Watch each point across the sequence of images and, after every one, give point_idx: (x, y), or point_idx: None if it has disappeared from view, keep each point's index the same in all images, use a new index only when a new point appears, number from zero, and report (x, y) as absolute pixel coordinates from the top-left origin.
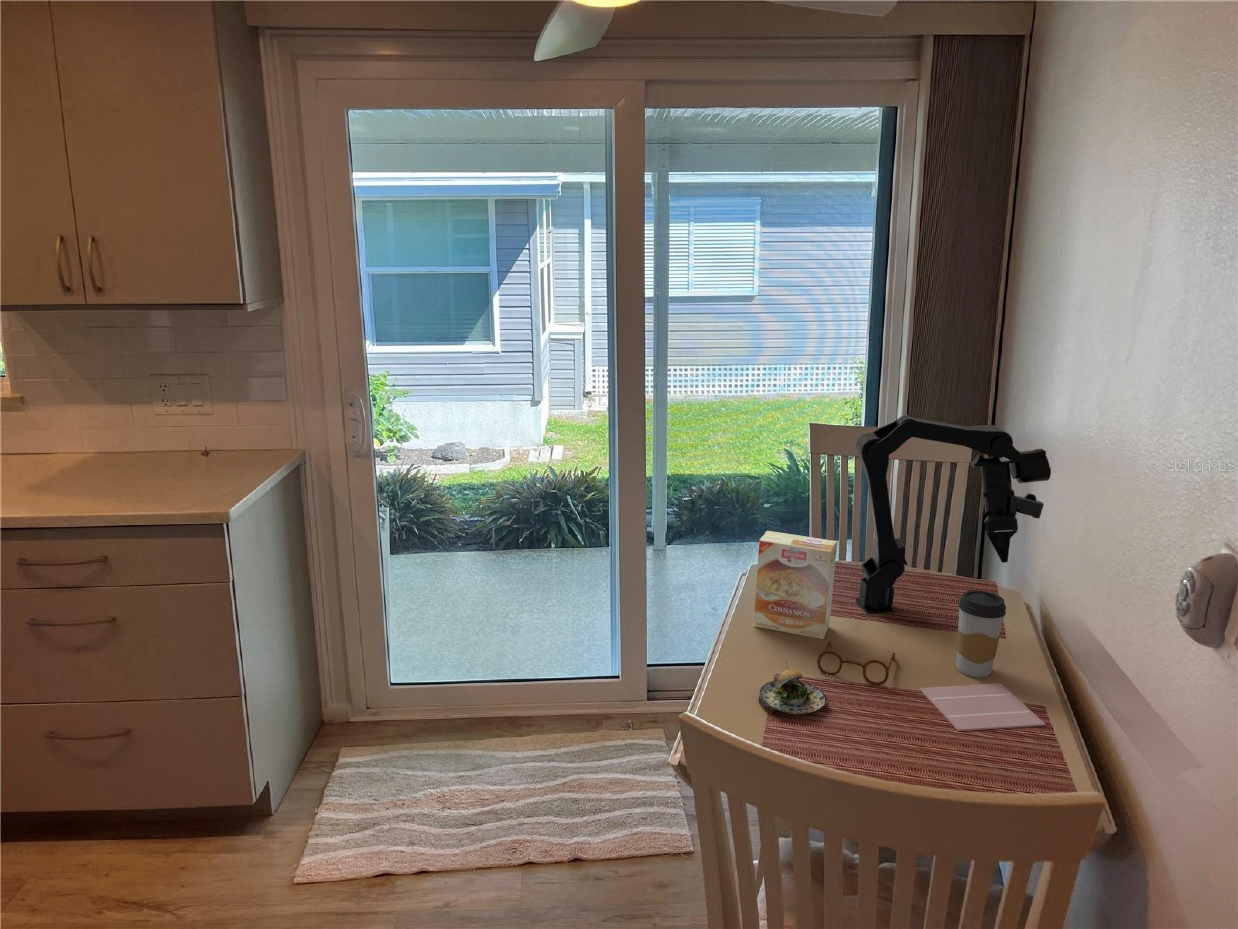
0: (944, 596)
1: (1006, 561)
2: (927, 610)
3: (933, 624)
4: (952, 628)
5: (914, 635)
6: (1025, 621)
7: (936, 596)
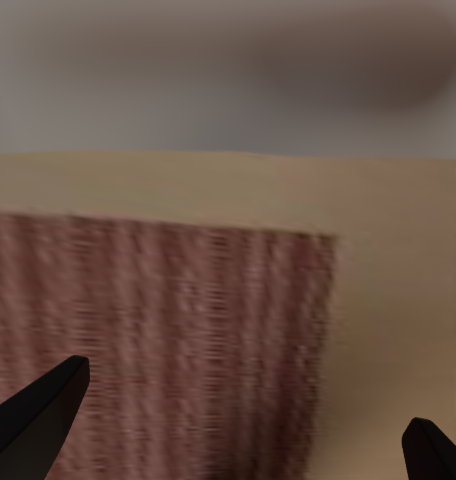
0: None
1: (431, 428)
2: (198, 416)
3: (287, 403)
4: (301, 362)
5: (361, 439)
6: (189, 153)
7: None
